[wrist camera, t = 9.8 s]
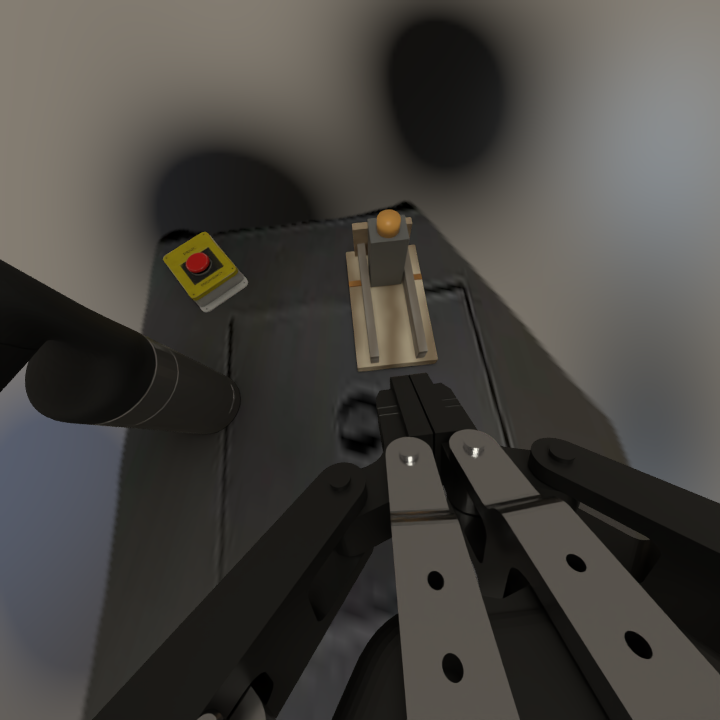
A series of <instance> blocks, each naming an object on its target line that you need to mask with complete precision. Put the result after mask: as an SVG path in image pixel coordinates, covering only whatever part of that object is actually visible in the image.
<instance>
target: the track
mask: <svg viewBox="0 0 720 720" xmlns="http://www.w3.org/2000/svg"><path fill="white" fill-rule="evenodd" d="M405 219H406V224H407V229H408V234H409V238H410V233H411V227H412V220H411V217H408V218H405ZM352 229H353V240H354V252H346V259H347V269H348V278H349V288H350V298H351V307H352V317H353V327H354V337H355V346H356V356H357V366H358V372H360V371H370V370H379V369H388V368H397V367H406V366H416V365H425V364H434V363H436V361H437V360H438V357H437V352H436V348H435V343H434V338H433V333H432V328H431V323H430V318H429V313H428V308H427V303H426V298H425V293H424V288H423V283H422V276H421V273H420V268H419V263H418V258H417V253H416V248H415V245H408V250H407V255H406V261H405V266H404V272H403V277H402V283H401V284H395V285H386V286H377V287H371V284H370V277H369V269H368V225H367V222H363V223H354V224H352Z"/></svg>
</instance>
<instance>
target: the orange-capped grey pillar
mask: <svg viewBox="0 0 720 720" xmlns="http://www.w3.org/2000/svg"><path fill="white" fill-rule="evenodd" d="M367 225H368V269H369V277H370V284H371V287H377V286H386V285H395V284H401V283H402V277H403V272H404V266H405V261H406V255H407V250H408V244H409V234H408V229H407V224H406V219H405V215H399V214H398V213H397V212H396V211H394V210H384V211H382V212H380V213H379V214H378V216H377V218H372V219H367Z"/></svg>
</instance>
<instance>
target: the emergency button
mask: <svg viewBox="0 0 720 720" xmlns="http://www.w3.org/2000/svg"><path fill="white" fill-rule="evenodd" d="M163 260H164V262H165V263H166V264H167V266H168V267H169V268H170V270H171V271H172V273H173V274H174V275H175V277H176V278H177V279H178V281H179V282H180V283H181V285H182V286H183V288H184V289H185V290H186V292H187V293H188V294H189V296H190V297H191V298H192V299H193V300H194V301H195V302H196V303H197V304H198V306H199V307H200V308H201V310H202V311H204V312H210V311H212V310H213V309H215V308H216V307H217V306H219V305H220V304H222V303H223V302H225V301H226V300H228V299H229V298H230V297H232V296H233V295H235V294H236V293H238V292H239V291H241V290H242V289H244V288H245V287H246V286H247V285H248V281H247V279H246V278H245V277H244V275H243V274H242V273H241V272H240V271H239V269H238V268H237V267H236V266H235V265H234V263H233V262H232V261H231V260H230V259H229V257H228V256H227V255H226V254H225V253H224V251H223V250H222V249H221V248H220V247H219V246H218V244H217V243H216V242H215V241H214V240H213V238H212V237H211V236H210V235H209V234H208V233H206V232H202V233H200V234H199V235H197V236H195V237H194V238H192V239H191V240H189V241H187V242H186V243H184V244H183V245H181V246H179V247H178V248H176V249H175V250H173V251H171V252H170V253H168V254H167V255H165V256H164V258H163Z"/></svg>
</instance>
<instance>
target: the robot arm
mask: <svg viewBox="0 0 720 720" xmlns="http://www.w3.org/2000/svg"><path fill="white" fill-rule="evenodd" d="M28 361H29V362H28ZM27 362H28V365H27V369H26V375H25V387H26V392H27V396H28V398H29V400H30V402H31V404H32V405H33V407H34V408H35V409H36V410H37V411H38V412H40V413H41V414H43V415H44V416H46V417H48V418H51V419H53V420H56V421H60V422H67V423H76V424H89V425H100V426H112V427H125V428H137V429H149V430H160V431H172V432H183V433H194V434H212V433H215V432H218V431H220V430H222V429H223V428H225V427H226V426H227V425H228V424H230V422H231V421H232V420H233V419H234V417H235V415H236V414H237V412H238V409H239V405H240V393H239V390H238V387H237V386H236V384H235V383H234V382H233V381H232V380H231V379H230V378H228V377H227V376H225V375H223V374H221V373H219V372H217V371H215V370H213V369H211V368H209V367H207V366H205V365H203V364H201V363H199V362H197V361H195V360H193V359H191V358H189V357H187V356H185V355H183V354H181V353H179V352H177V351H175V350H173V349H171V348H169V347H167V346H165V345H162V344H160V343H158V342H156V341H154V340H152V339H150V338H148V337H146V336H144V335H142V334H140V333H138V332H136V331H134V330H132V329H130V328H128V327H126V326H124V325H121V324H119V323H117V322H115V321H113V320H111V319H109V318H106V317H104V316H102V315H100V314H98V313H96V312H94V311H92V310H90V309H88V308H86V307H84V306H83V305H81V304H79V303H77V302H75V301H73V300H72V299H70V298H68V297H66V296H64V295H63V294H61V293H59V292H57V291H55V290H54V289H52V288H50V287H48V286H46V285H45V284H43V283H41V282H39V281H38V280H36V279H34V278H32V277H31V276H29V275H27V274H25V273H23V272H22V271H20V270H18V269H16V268H14V267H13V266H11V265H9V264H7V263H6V262H4V261H2V260H0V392H1V391H2V390H3V388H5V387H6V386H7V384H8V383H9V382H10V381H11V380H12V379H13V378H14V377H15V376H16V374H17V373H18V372H19V371H20V370H21V369H22V368H23V367H24V366H25V364H26V363H27ZM390 388H391V389H389V390H381V391H379V393H378V395H377V398H376V404H377V413H378V423H379V431H380V436H381V442H382V448H383V454H382V456H381V457H380V458H379V459H378V460H377V461H376V462H374V463H373V464H371V465H369V466H367V467H364V468H362V469H360V468H359V467H358V466H356V465H354V464H351V463H337V464H334V465H331V466H329V467H328V468H326V469H325V470H324V471H323V472H322V473H321V474H320V475H319V476H318V477H317V478H316V479H315V480H314V481H313V482H312V483H311V485H310V486H309V487H308V488H307V489H306V490H305V491H304V492H303V493H302V494H301V495H300V496H299V497H298V499H297V500H296V501H295V502H294V503H293V504H292V505H291V506H290V507H289V508H288V509H287V510H286V511H285V513H284V514H283V515H282V516H281V517H280V518H279V519H278V520H277V521H276V522H275V523H274V524H273V525H272V527H271V528H270V529H269V530H268V531H267V532H266V533H265V534H264V535H263V536H262V537H261V538H260V540H259V541H258V542H257V543H256V544H255V545H254V546H253V547H252V548H251V549H250V550H249V551H248V552H247V554H246V555H245V556H244V557H243V558H242V559H241V560H240V561H239V562H238V563H237V564H236V565H235V566H234V568H233V569H232V570H231V571H230V572H229V573H228V574H227V575H226V576H225V577H224V578H223V579H222V580H221V582H220V583H219V584H218V585H217V586H216V587H215V588H214V589H213V590H212V591H211V592H210V593H209V594H208V596H207V597H206V598H205V599H204V600H203V601H202V602H201V603H200V604H199V605H198V606H197V607H196V608H195V610H194V611H193V612H192V613H191V614H190V615H189V616H188V617H187V618H186V619H185V620H184V621H183V622H182V624H181V625H180V626H179V627H178V628H177V629H176V630H175V631H174V632H173V633H172V634H171V635H170V636H169V638H168V639H167V640H166V641H165V642H164V643H163V644H162V645H161V646H160V647H159V648H158V649H157V650H156V652H155V653H154V654H153V655H152V656H151V657H150V658H149V659H148V660H147V661H146V662H145V663H144V665H143V666H142V667H141V668H140V669H139V670H138V671H137V672H136V673H135V674H134V675H133V676H132V677H131V679H130V680H129V681H128V682H127V683H126V684H125V685H124V686H123V687H122V688H121V689H120V690H119V691H118V693H117V694H116V695H115V696H114V697H113V698H112V699H111V700H110V701H109V702H108V703H107V704H106V705H105V707H104V708H103V709H102V710H101V711H100V712H99V713H98V714H97V715H96V716H95V717H94V718H93V719H92V720H276V718H277V716H278V714H279V712H280V711H281V709H282V707H283V705H284V704H285V702H286V700H287V699H288V697H289V695H290V693H291V692H292V690H293V688H294V686H295V685H296V683H297V681H298V680H299V678H300V676H301V674H302V673H303V671H304V669H305V668H306V666H307V664H308V662H309V661H310V659H311V657H312V655H313V654H314V652H315V650H316V649H317V647H318V645H319V643H320V642H321V640H322V638H323V636H324V635H325V633H326V631H327V630H328V628H329V626H330V624H331V623H332V621H333V619H334V617H335V616H336V614H337V612H338V611H339V609H340V607H341V605H342V604H343V602H344V600H345V598H346V597H347V595H348V593H349V592H350V590H351V588H352V586H353V585H354V583H355V581H356V580H357V578H358V576H359V574H360V573H361V571H362V569H363V567H364V566H365V564H366V562H367V561H368V559H369V557H370V555H371V554H372V551H373V549H374V547H375V546H377V545H379V544H380V543H382V542H384V541H386V540H388V539H390V538H392V541H393V553H394V565H395V577H396V589H397V601H398V614H396V615H395V616H393V617H392V618H391V619H389V620H388V621H387V622H385V623H384V624H383V625H382V626H381V627H380V628H379V629H378V630H377V631H376V633H375V634H374V635H373V637H372V638H371V639H370V640H369V642H368V643H367V645H366V647H365V648H364V650H363V652H362V653H361V655H360V657H359V659H358V661H357V663H356V665H355V668H354V670H353V672H352V675H351V677H350V679H349V681H348V684H347V686H346V688H345V690H344V693H343V695H342V697H341V700H340V702H339V704H338V706H337V709H336V711H335V713H334V715H333V718H332V720H720V504H719V503H717V502H714V501H712V500H709V499H707V498H705V497H702V496H700V495H697V494H695V493H693V492H690V491H688V490H685V489H683V488H680V487H678V486H675V485H673V484H670V483H668V482H666V481H663V480H661V479H658V478H656V477H653V476H650V475H648V474H646V473H643V472H641V471H639V470H636V469H634V468H631V467H629V466H626V465H624V464H621V463H619V462H616V461H614V460H611V459H609V458H607V457H604V456H602V455H599V454H597V453H594V452H592V451H589V450H587V449H584V448H582V447H580V446H577V445H575V444H572V443H570V442H567V441H564V440H561V439H556V438H542V439H539V440H536V441H535V442H534V443H533V444H532V446H531V450H524V449H516V448H508V447H503V446H499V444H498V443H497V442H496V441H495V440H494V439H493V438H492V437H491V436H489V435H488V434H486V433H484V432H481V431H478V430H477V429H476V427H475V426H474V424H473V422H472V421H471V419H470V418H469V416H468V415H467V413H466V412H465V410H464V409H463V407H462V406H461V405H460V403H459V401H458V399H456V396H455V395H454V393H453V392H452V390H451V389H450V388H448V387H447V386H445V385H444V384H442V383H437V384H433V383H432V381H431V379H430V377H429V376H428V374H427V373H420V374H412V375H405V376H397V377H390ZM442 485H444V488H445V490H446V493H447V501H446V497H445V494H444V490H443V487H442ZM580 502H581V503H583V504H585V505H587V506H589V507H591V508H593V509H595V510H597V511H599V512H601V513H602V514H604V515H606V516H608V517H610V518H612V519H614V520H616V521H618V522H620V523H622V524H623V525H625V526H627V527H629V528H631V529H633V530H635V531H637V532H639V533H641V534H643V535H644V536H646V537H648V538H649V539H650V540H639V539H636V538H633V537H631V536H629V535H627V534H625V533H623V532H622V531H620V530H618V529H616V528H614V527H612V526H610V525H609V524H607V523H605V522H603V521H601V520H599V519H598V518H596V517H594V516H592V515H590V514H588V513H586V512H585V511H583V510H581V509H579V508H578V507H579V505H580ZM470 559H471V560H470ZM471 561H472V563H473V566H474V568H475V571H476V574H477V577H478V582H479V586H478V583H477V579H476V576H475V573H474V570H473V566H472V563H471ZM479 587H480V589H479ZM481 595H482V596H481Z"/></svg>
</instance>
